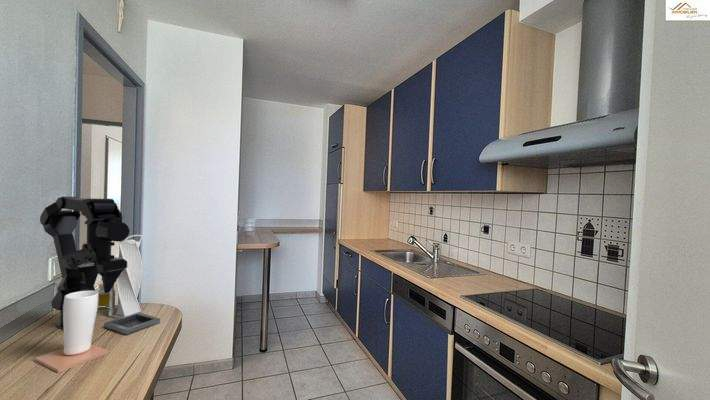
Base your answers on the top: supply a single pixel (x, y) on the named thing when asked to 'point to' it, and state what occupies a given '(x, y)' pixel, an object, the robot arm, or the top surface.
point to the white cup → (79, 321)
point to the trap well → (131, 323)
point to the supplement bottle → (103, 299)
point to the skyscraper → (128, 280)
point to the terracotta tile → (69, 358)
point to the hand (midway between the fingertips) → (98, 290)
